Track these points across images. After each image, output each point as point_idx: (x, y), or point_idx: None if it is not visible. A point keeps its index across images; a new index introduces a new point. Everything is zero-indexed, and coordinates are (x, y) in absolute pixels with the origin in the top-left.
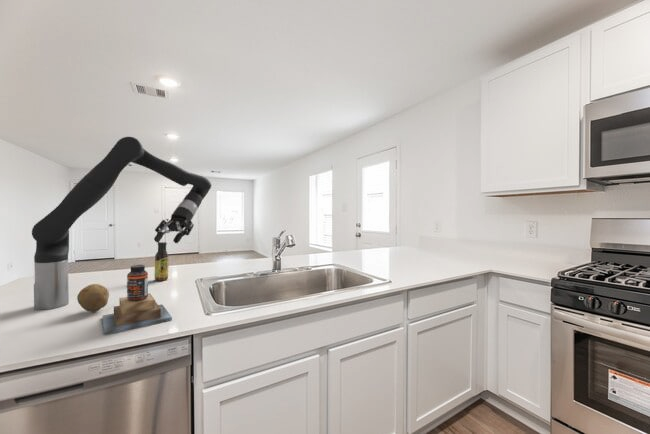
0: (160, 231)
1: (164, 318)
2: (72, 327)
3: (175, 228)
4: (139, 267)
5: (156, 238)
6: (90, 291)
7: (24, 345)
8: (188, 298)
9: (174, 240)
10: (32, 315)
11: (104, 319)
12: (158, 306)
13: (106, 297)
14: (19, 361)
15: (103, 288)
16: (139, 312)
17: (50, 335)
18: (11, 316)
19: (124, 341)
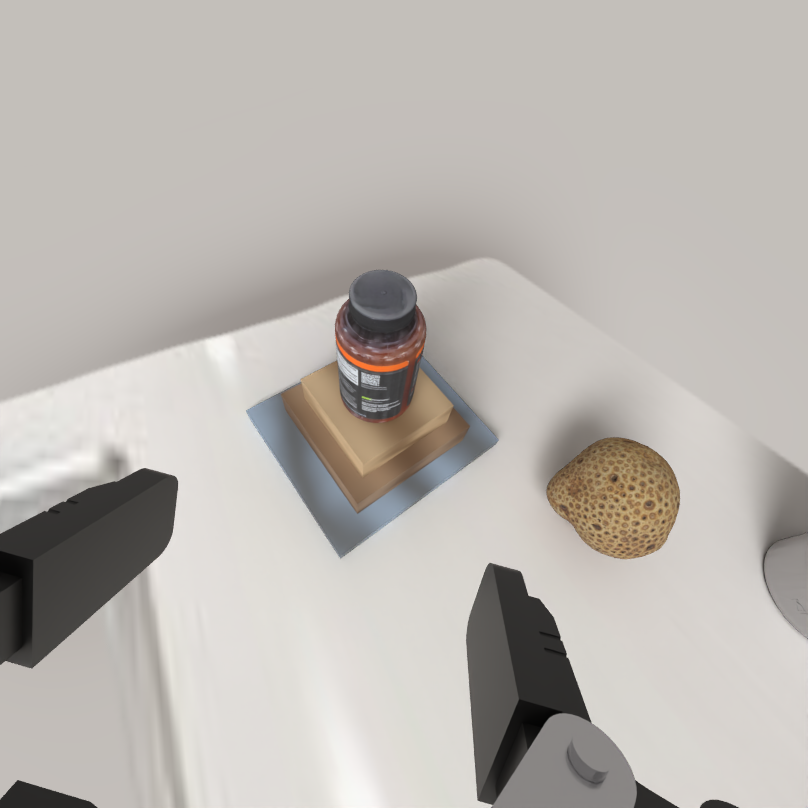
0: (537, 731)
1: (268, 400)
2: (524, 386)
3: (17, 781)
4: (360, 276)
5: (492, 580)
6: (610, 442)
7: (536, 309)
8: (245, 713)
9: (155, 473)
10: (748, 485)
11: (464, 407)
12: (298, 415)
13: (560, 491)
14: (477, 259)
15: (603, 492)
16: None
17: (532, 347)
18: (799, 480)
19: (326, 303)
